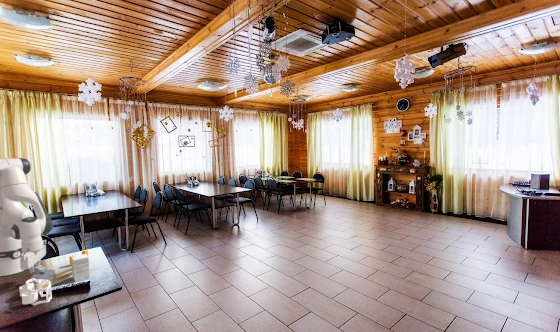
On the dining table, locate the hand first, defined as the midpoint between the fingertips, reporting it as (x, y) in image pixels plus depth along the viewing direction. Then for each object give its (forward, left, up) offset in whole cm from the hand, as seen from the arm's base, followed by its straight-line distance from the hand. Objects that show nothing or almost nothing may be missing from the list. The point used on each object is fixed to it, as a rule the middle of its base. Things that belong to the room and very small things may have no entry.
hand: (35, 270), depth 155 cm
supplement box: (+19, +12, -8) cm, 24 cm away
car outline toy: (+19, -11, -8) cm, 23 cm away
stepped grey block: (0, +1, -6) cm, 6 cm away
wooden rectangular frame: (+9, +6, -8) cm, 13 cm away
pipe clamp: (-6, +28, -8) cm, 29 cm away
